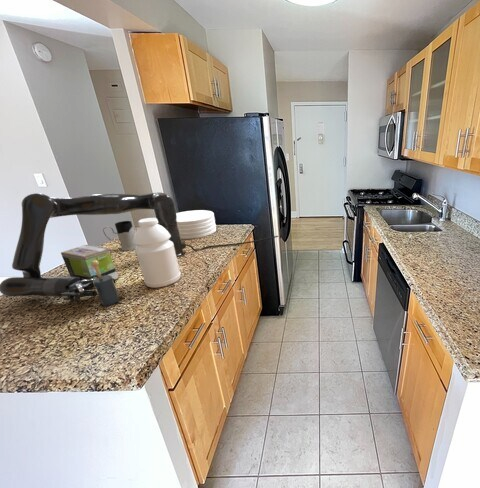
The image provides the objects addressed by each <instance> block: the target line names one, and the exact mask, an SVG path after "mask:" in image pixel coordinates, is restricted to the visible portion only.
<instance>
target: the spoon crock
mask: <svg viewBox="0 0 480 488" xmlns="http://www.w3.org/2000/svg"><path fill="white" fill-rule="evenodd" d="M98 264H99V262H98V261H97V260H93V261H92V262H91V265H92V266H94V268H95V270H96V273H97V276H98V278H96V279H95V280H94V281H93V282H94V284H95V287H96V288H95V290H96V291H97V294H98V295H97V296H98V297H99V300H100V302H101V305H102V306H104V307H105V306H111V305H114V304H116V303H118V302H120V300H121V299H120V295H119V293H118V290H117V287H116V283H115V284H114V281H113V278H112V276H110V275H107V276H101V273H100V271H99V268H98Z"/></svg>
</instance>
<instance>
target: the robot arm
mask: <svg viewBox="0 0 480 488" xmlns="http://www.w3.org/2000/svg"><path fill="white" fill-rule="evenodd" d="M139 210H153V211H154V215H155V218H157V220H158V223H157V224H159V225H161V226H163V227H164V228H165V229H166V230H167V231H168V232H169V234H170V235H171V237H170V238H169V240H170V241H172V242H173V244H174V248H175V253H176V257H180V256H182V255H183V256H184V254H185V249H186V248H187V247H189V248H190V249H192V251H195V252H197V251H202V250H206V249H208V248H216V247H227V246H237V245H245V244H251V243H252V244H253V243H258V242H261V241H267V240H271V239H276V238H279V235H274V236H271V237H270V236H269V237H266V238H260V239H256V240H250V241H243V242H235V243H226V244H214V245H213V244H212V245H207V246H204V247H202V248H198V249H196V248H194V246H193V245H190V244H187V243H186V241H185V240H183V239H181V236H180V233H179V229H178V224H177V215H176V213H177V211H176V205H175V201H174V199H173V198H172V196H170V195H168V194H167V193H165V192H151V193H142V194H132V193H131V194H130V193H97V194H96V193H95V194H89V195H88V194H87V195H82V196H77V197H76V196H75V197H50V196H48V195H46V194H44V193H37V192H36V193H30V194H28V195H26V196H24V198H23V199H22V201H21V226H20V227H21V228H20V231H19V232H20V233H19V236H18V241H17V244H16V248H15V251H14V254H13V259H12V263H11V268H12V269H13V270H15V271H19V272H21V273H22V276H12V277H8V278H5V279H4V280H2V281H1V282H0V293H1V294H2V295H4V296H7V297H27V296H28V297H29V296H35V297H36V296H37V297H54V298H62V299H63V301H80V300H81V298H83V299H84V298H86V297H97V296H99V295H98V292H97V290H96V288H95V285H94V283H93V281H94V280H95V279H96V278H98V276H97V275H93V276H91V277H92V278H91V279H86V280H83V279H81V278H79V277H70V276H54V277H53V276H52V277H51V276H44V277H42V273H41V267H40V266H41V262H42V257H43V252H44V243H45V234H46V229H47V225H48V223H49V220H50V219H53V218H58V217H59V218H60V217H68V216H104V215H105V216H106V215H119V214H126V213H130V212H133V211H139ZM101 276H107V275H101ZM113 281H114V284H115V285H116V279H114V278H113Z"/></svg>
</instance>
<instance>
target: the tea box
mask: <svg viewBox="0 0 480 488" xmlns="http://www.w3.org/2000/svg"><path fill="white" fill-rule="evenodd" d="M60 254H61V257H62V260H63V262H64V264H65V267H66V269H67V272H68V274H69V277H79V278H81V279H83V280H86V279H91V278H92V277H91V276H93V275H97V273H96V270H95V268H94V266H92V265H91V262H92V261H93V260H97V261H98V262H99V264H98V268H99V271H100V273H101V275H110V276H112V278H114V279H115V280H116V279H117V280H118V278H119V275H118V272H117V270H116V267H115V264H114V260H113V258H112V255H111V251H110V249H109V248H108V247H103V246H98V245H97V246H96V245H90V244H84V245H81V246H77V247H74V248H71V249H68V250H65V251H62V252H60ZM93 283H94V282H93ZM94 285H95V284H94ZM94 289H96V287H95V288H94Z"/></svg>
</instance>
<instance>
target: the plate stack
mask: <svg viewBox="0 0 480 488" xmlns="http://www.w3.org/2000/svg"><path fill="white" fill-rule="evenodd" d="M176 215H177V224H178V229H179V233H180V236H181V240H191V239H199V238H203V237H207V236H210V235H212V234H214V233H215V232H216V231H217V224H216V218H215V213H214V212H213V211H212V210H205V209H195V210H186V211H180V212H176Z"/></svg>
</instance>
